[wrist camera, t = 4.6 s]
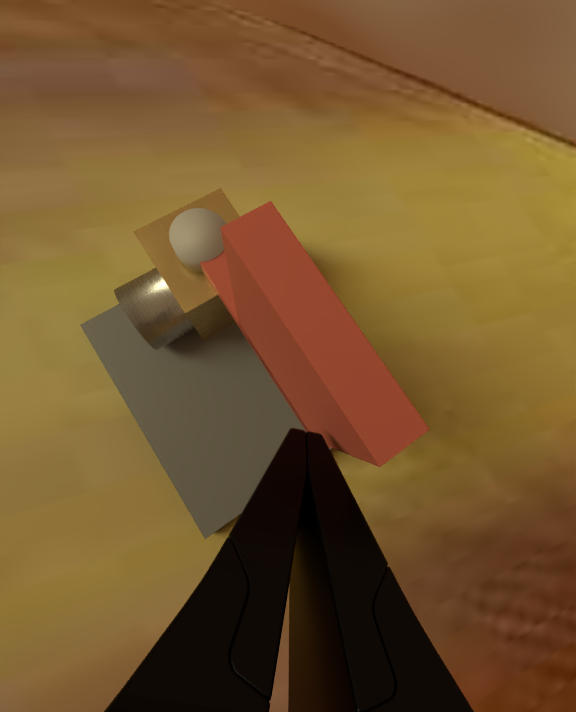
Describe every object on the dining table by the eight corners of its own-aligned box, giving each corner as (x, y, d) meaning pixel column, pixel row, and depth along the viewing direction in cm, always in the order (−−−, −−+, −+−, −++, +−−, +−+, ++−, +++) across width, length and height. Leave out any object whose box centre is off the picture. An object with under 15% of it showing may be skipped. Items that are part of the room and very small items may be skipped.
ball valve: (299, 284, 20) (313, 240, 15) (167, 361, 18) (135, 341, 13) (261, 228, 20) (262, 167, 15) (129, 298, 19) (83, 256, 14)
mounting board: (379, 410, 20) (385, 410, 19) (208, 532, 18) (205, 538, 17) (261, 236, 21) (261, 228, 20) (89, 329, 19) (80, 324, 18)
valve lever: (165, 239, 14) (67, 47, 7) (213, 215, 15) (168, 10, 7) (305, 458, 13) (369, 511, 6) (353, 424, 13) (469, 433, 6)
